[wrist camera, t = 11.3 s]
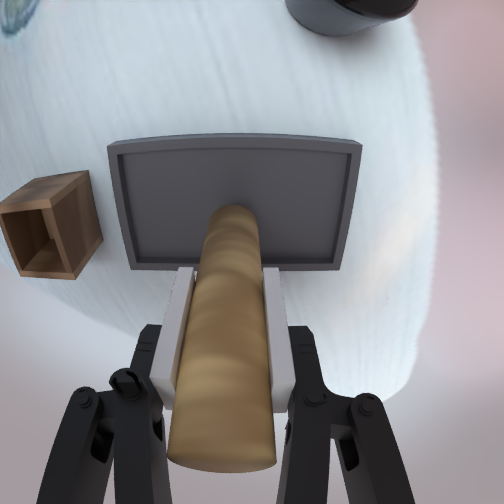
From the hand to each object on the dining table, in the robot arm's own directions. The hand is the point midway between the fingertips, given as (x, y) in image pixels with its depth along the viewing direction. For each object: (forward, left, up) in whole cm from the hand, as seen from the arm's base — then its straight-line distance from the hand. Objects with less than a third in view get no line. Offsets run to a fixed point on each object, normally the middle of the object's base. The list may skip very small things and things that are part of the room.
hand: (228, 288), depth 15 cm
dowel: (0, 0, -7) cm, 7 cm away
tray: (0, 0, -11) cm, 11 cm away
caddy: (-17, 0, -11) cm, 20 cm away
